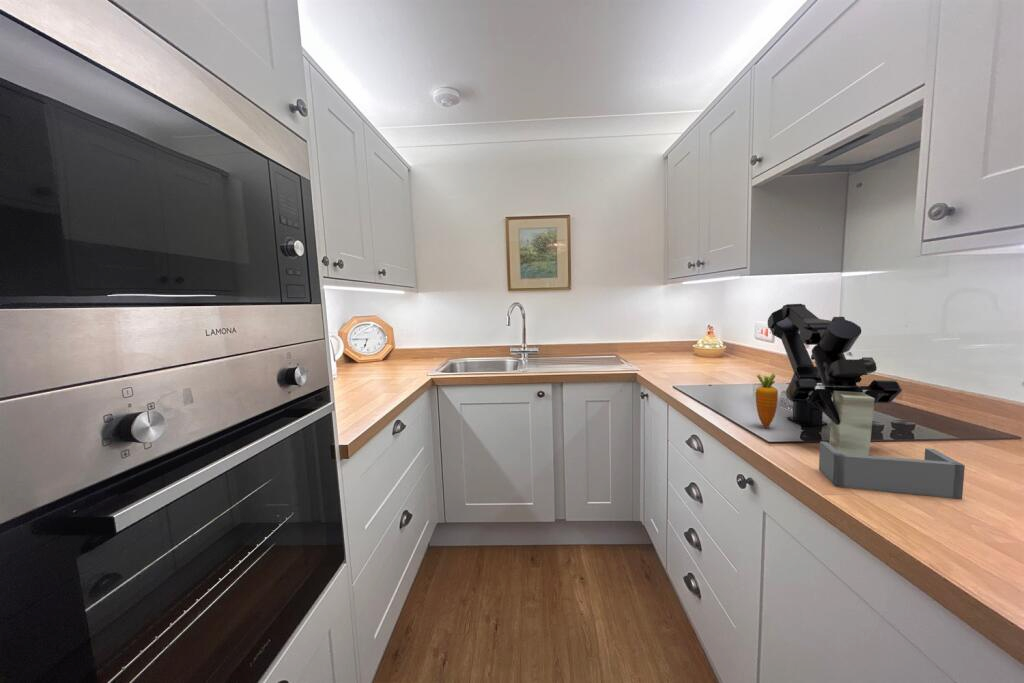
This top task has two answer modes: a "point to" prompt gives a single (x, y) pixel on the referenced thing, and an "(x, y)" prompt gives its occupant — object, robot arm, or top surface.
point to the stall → (894, 472)
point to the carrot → (766, 400)
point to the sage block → (852, 422)
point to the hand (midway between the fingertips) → (854, 424)
